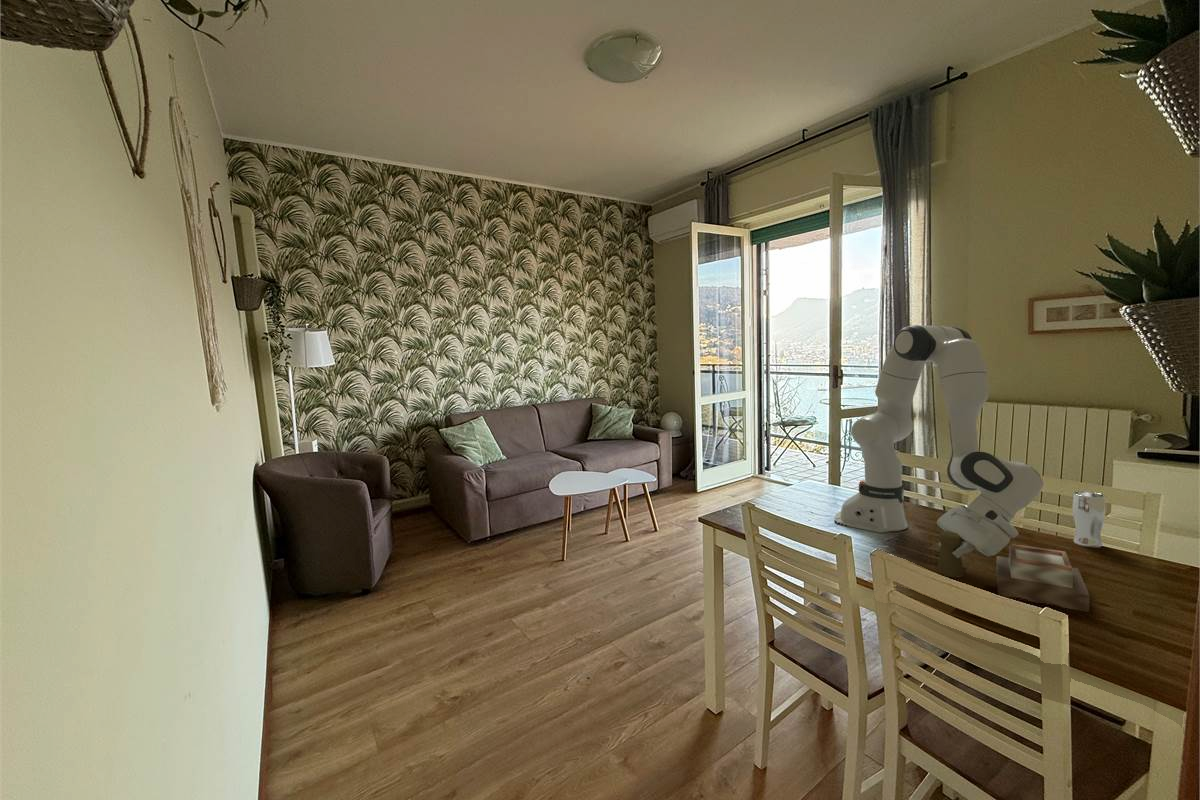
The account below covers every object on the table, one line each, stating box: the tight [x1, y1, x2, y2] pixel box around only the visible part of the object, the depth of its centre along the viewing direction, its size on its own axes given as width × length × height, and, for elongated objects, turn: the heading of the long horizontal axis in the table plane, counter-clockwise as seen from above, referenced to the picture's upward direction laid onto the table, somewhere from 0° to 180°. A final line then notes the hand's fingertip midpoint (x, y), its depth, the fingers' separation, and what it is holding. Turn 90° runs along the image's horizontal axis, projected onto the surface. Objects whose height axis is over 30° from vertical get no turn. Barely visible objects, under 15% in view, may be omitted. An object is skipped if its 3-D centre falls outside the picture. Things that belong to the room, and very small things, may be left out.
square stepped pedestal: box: [995, 543, 1090, 613], centre depth 124 cm, size 16×16×9 cm
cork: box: [936, 531, 965, 578], centre depth 135 cm, size 6×6×11 cm
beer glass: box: [1071, 490, 1107, 549], centre depth 147 cm, size 7×7×15 cm
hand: (947, 551), depth 135 cm, fingers open, 4 cm apart
